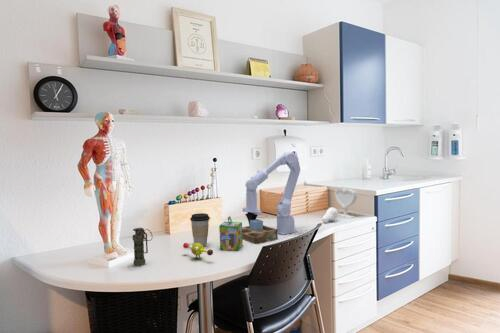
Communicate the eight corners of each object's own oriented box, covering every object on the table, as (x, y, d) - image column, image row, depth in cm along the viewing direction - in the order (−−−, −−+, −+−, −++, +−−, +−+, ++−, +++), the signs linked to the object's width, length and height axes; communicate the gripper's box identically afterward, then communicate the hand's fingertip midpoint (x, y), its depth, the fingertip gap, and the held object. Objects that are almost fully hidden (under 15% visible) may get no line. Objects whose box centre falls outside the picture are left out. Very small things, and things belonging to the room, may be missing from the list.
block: (257, 228, 186) (257, 219, 186) (262, 230, 182) (262, 220, 182) (249, 229, 183) (249, 220, 183) (255, 231, 179) (255, 222, 179)
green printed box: (238, 251, 157) (238, 219, 156) (219, 250, 159) (218, 218, 158) (243, 245, 166) (242, 215, 165) (224, 244, 168) (224, 214, 167)
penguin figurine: (338, 207, 211) (326, 212, 204) (339, 220, 212) (327, 225, 205) (330, 206, 216) (318, 210, 209) (331, 219, 217) (319, 224, 210)
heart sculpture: (333, 214, 233) (334, 188, 232) (339, 213, 236) (339, 187, 234) (352, 218, 220) (352, 190, 219) (357, 217, 223) (357, 189, 222)
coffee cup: (187, 247, 163) (186, 216, 162) (196, 242, 172) (196, 212, 171) (204, 249, 160) (204, 217, 159) (213, 243, 169) (213, 213, 168)
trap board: (252, 230, 193) (252, 221, 192) (277, 239, 175) (277, 229, 175) (231, 234, 185) (231, 225, 184) (255, 244, 167) (255, 234, 166)
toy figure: (179, 256, 151) (178, 240, 150) (188, 252, 155) (188, 238, 155) (206, 265, 139) (206, 248, 139) (216, 261, 144) (216, 245, 143)
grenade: (135, 268, 136) (133, 231, 135) (129, 264, 141) (127, 229, 140) (155, 263, 142) (154, 227, 141) (149, 259, 147) (148, 225, 146)
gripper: (237, 200, 188) (238, 225, 189) (253, 204, 177) (253, 230, 178) (248, 199, 192) (248, 223, 193) (264, 202, 181) (264, 228, 182)
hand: (251, 226), depth 186 cm, fingers closed
